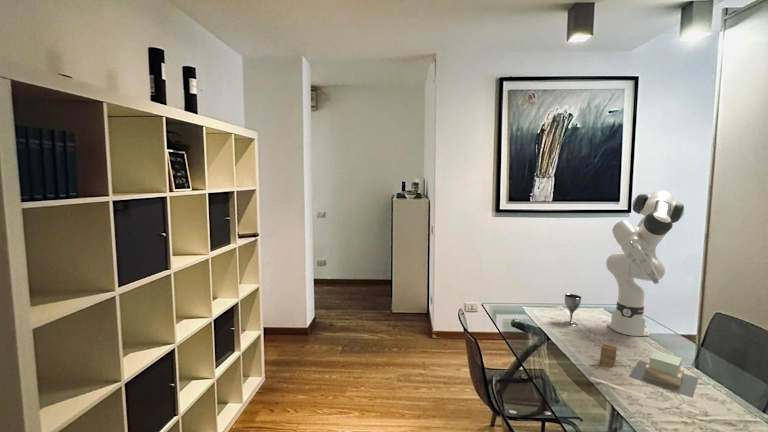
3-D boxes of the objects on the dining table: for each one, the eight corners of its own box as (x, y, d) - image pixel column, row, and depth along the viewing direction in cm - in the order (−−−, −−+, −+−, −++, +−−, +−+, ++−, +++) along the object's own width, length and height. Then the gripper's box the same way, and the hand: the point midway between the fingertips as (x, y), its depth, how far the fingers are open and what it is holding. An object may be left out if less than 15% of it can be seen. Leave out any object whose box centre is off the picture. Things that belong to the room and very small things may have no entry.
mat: (639, 361, 169) (639, 360, 169) (698, 379, 156) (698, 377, 156) (628, 378, 155) (628, 376, 155) (692, 399, 141) (692, 397, 141)
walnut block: (601, 360, 169) (603, 342, 168) (615, 364, 166) (617, 346, 165) (599, 365, 165) (601, 346, 164) (613, 369, 162) (615, 350, 161)
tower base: (649, 367, 163) (651, 358, 162) (683, 377, 155) (684, 367, 155) (644, 376, 155) (645, 367, 154) (679, 387, 147) (680, 377, 147)
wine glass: (580, 327, 207) (583, 299, 205) (564, 325, 208) (566, 297, 206) (576, 321, 214) (579, 294, 213) (560, 319, 216) (563, 293, 214)
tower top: (653, 359, 161) (654, 350, 161) (680, 367, 155) (681, 358, 154) (649, 367, 155) (650, 357, 154) (677, 375, 148) (678, 365, 148)
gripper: (636, 235, 160) (654, 261, 150) (651, 259, 171) (668, 285, 161) (620, 242, 163) (637, 268, 153) (636, 265, 174) (652, 291, 164)
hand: (653, 277), depth 157 cm, fingers open, 8 cm apart
